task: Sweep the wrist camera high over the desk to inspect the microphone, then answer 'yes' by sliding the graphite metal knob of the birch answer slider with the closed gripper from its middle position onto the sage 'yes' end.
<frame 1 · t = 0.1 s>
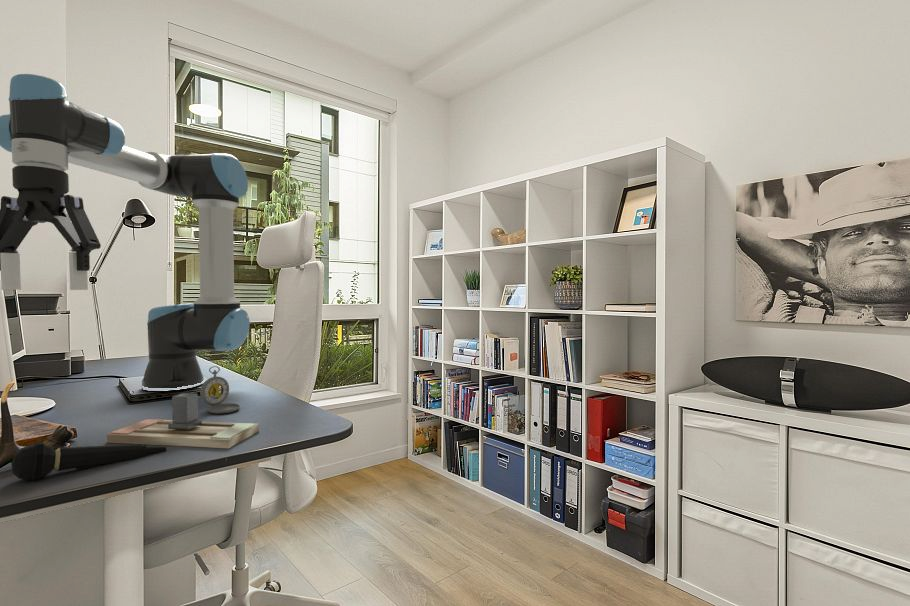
hand: (44, 290, 86), 28 cm above the table, fingers open, 13 cm apart
pocket watch: (221, 411, 112), on the table
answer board: (185, 436, 92), on the table
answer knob: (185, 410, 92), point 5 cm above the table, slide at 0.0 cm
microphone: (94, 469, 77), on the table
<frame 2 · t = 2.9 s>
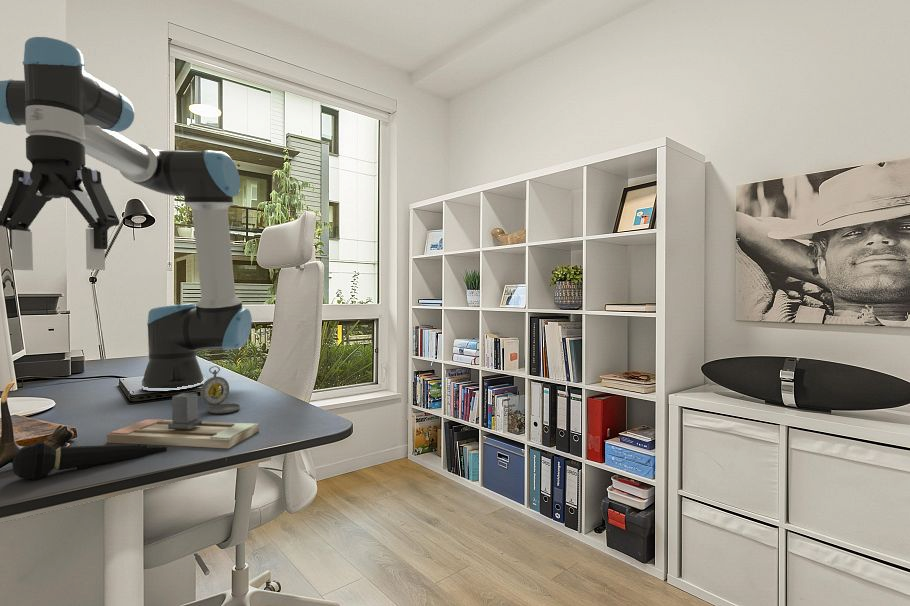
hand: (59, 270, 80), 31 cm above the table, fingers open, 13 cm apart
nothing on the table moved.
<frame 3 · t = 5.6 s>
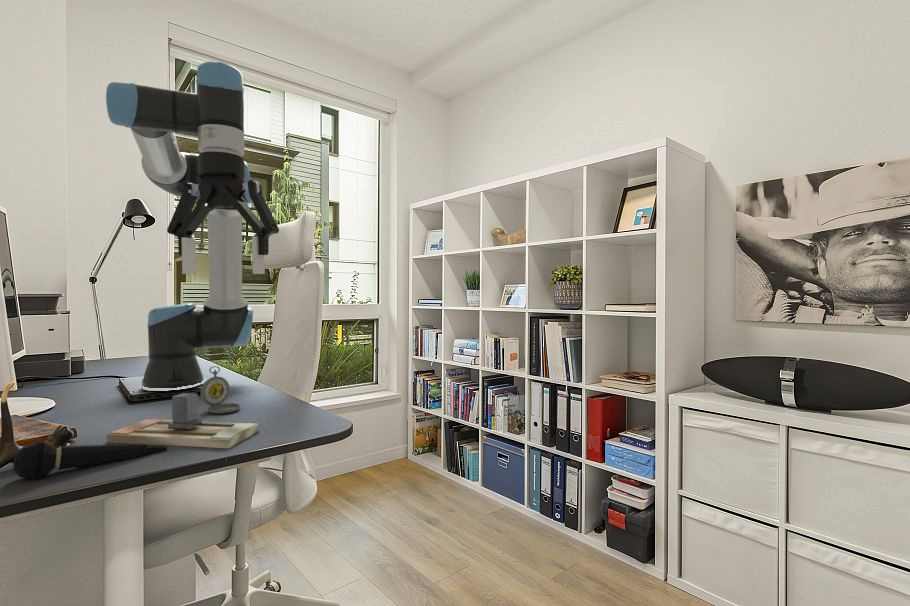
hand: (223, 274, 87), 31 cm above the table, fingers open, 13 cm apart
nothing on the table moved.
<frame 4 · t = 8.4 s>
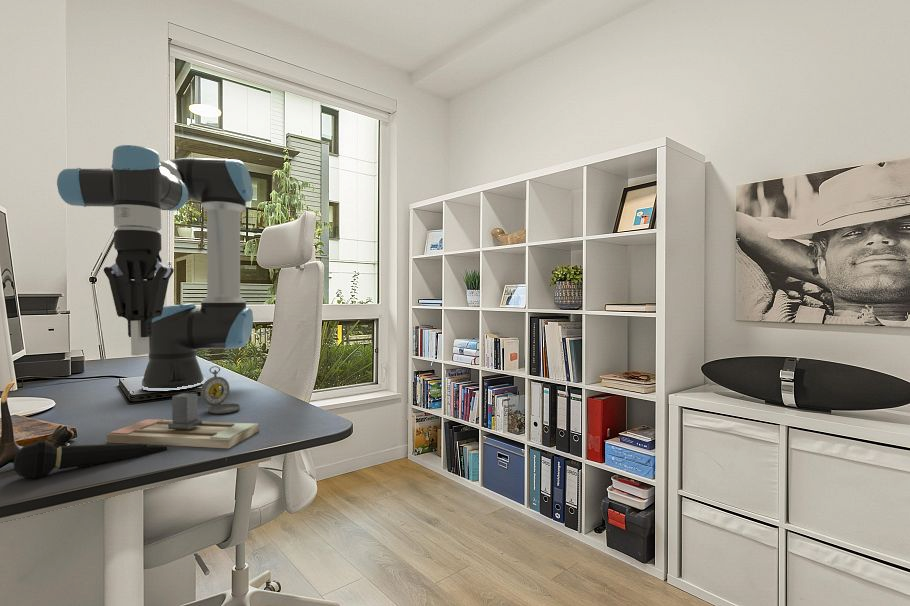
hand: (140, 354, 92), 16 cm above the table, fingers closed
nothing on the table moved.
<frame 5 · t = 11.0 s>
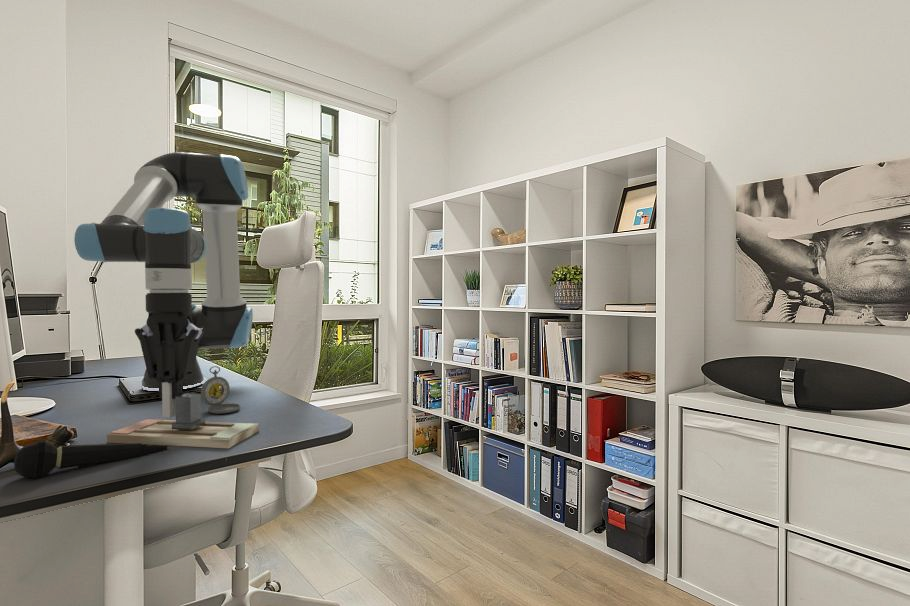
hand: (171, 415, 92), 4 cm above the table, fingers closed
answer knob: (188, 410, 92), point 5 cm above the table, slide at 0.7 cm, touching gripper
everything else where it was.
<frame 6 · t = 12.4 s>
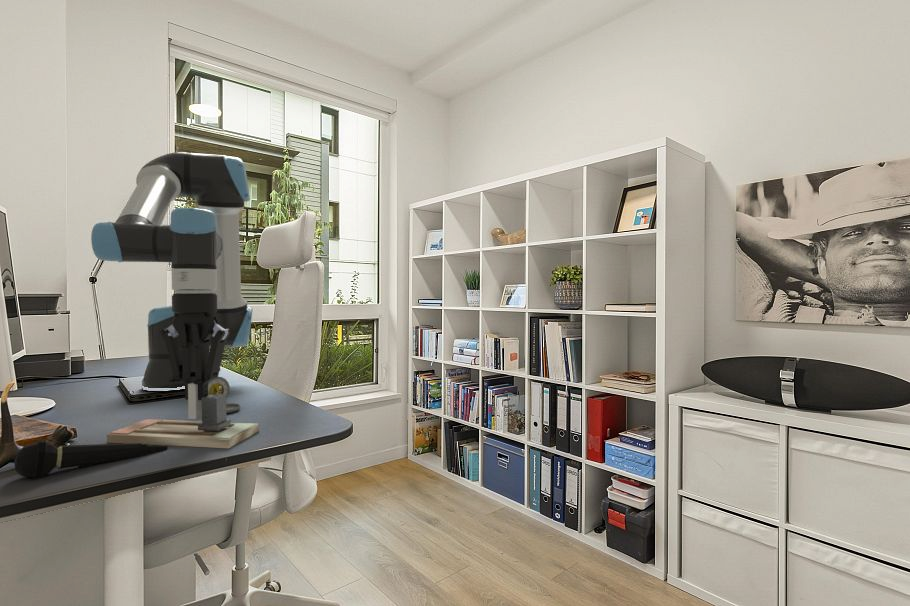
hand: (196, 416, 92), 4 cm above the table, fingers closed
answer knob: (214, 411, 91), point 5 cm above the table, slide at 6.0 cm, touching gripper
everything else where it was.
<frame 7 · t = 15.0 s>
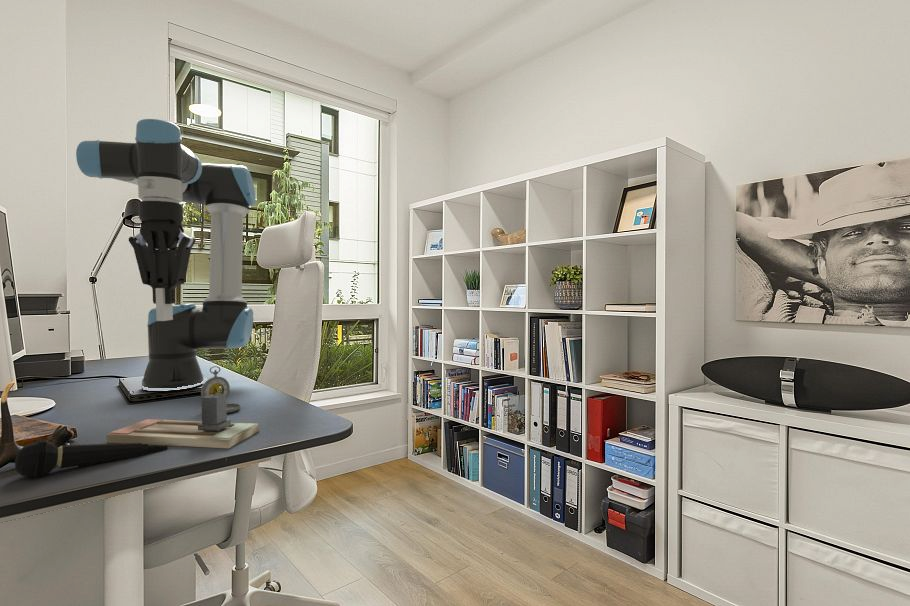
hand: (164, 320, 97), 22 cm above the table, fingers closed
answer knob: (214, 411, 91), point 5 cm above the table, slide at 6.0 cm
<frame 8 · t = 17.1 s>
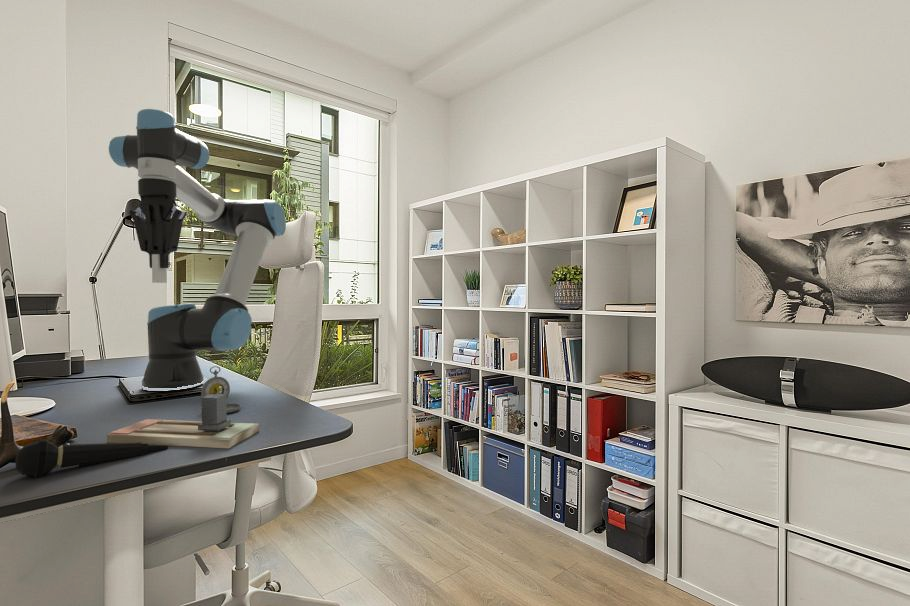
hand: (159, 282, 112), 29 cm above the table, fingers closed
at the end: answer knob slide at 6.0 cm; microphone moved 1.5 cm from its start; pocket watch moved 0.3 cm from its start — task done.
